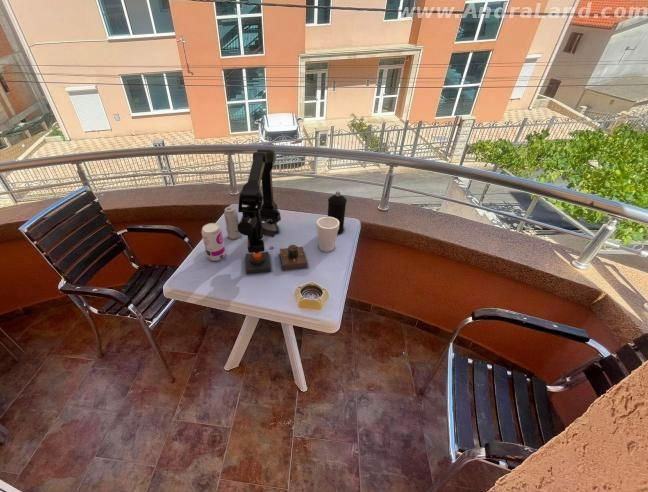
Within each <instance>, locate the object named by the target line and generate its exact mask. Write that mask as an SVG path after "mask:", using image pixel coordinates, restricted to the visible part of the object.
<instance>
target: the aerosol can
mask: <svg viewBox="0 0 648 492" xmlns="http://www.w3.org/2000/svg"><path fill="white" fill-rule="evenodd" d="M347 200H348V199H347V198H346V197H345V196H344V195H342V194H341V190H336V191H335V194H333V195H331V196H330V197H329V198H328V199H327V202H328V203H327V207H328V208H327V217H334V218H336V219H338V221H339V230H338V233H337V235H340V234H342V233H344V231H345V229H344V227H345V226H344V225H345V215H346V207H347Z"/></svg>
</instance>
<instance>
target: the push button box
mask: <svg viewBox="0 0 648 492" xmlns="http://www.w3.org/2000/svg"><path fill="white" fill-rule="evenodd" d="M260 253H261V255H262V258H261V260H254V259H253V254H254V253H245V269H246V275H251V274H260V273H261V274H262V273H271V272H272V267H271V259H270V252H269V251H264V252H260Z"/></svg>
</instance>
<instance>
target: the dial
mask: <svg viewBox="0 0 648 492" xmlns="http://www.w3.org/2000/svg"><path fill="white" fill-rule="evenodd" d="M298 247H299V246H297V245H296V244H290V245H289V246H288V247H287V248H288V256H289V257H290V258H296V257H297V256H298Z"/></svg>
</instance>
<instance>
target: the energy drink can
mask: <svg viewBox="0 0 648 492" xmlns="http://www.w3.org/2000/svg"><path fill="white" fill-rule="evenodd" d="M238 213H239V212H238V209H236V207H235V206H232V205H230V206H229V205H228V206H226V207H225V208H224V212H223V216H224V221H225V227H226V232H227V233H226V234H227V237H228V238H229V239H231V240H238V239H239V238H240V236H241V235H242V234H241V233H240V232H239V231H238V229H237V227H238V224H239V222H240V220H239V214H238Z"/></svg>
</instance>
